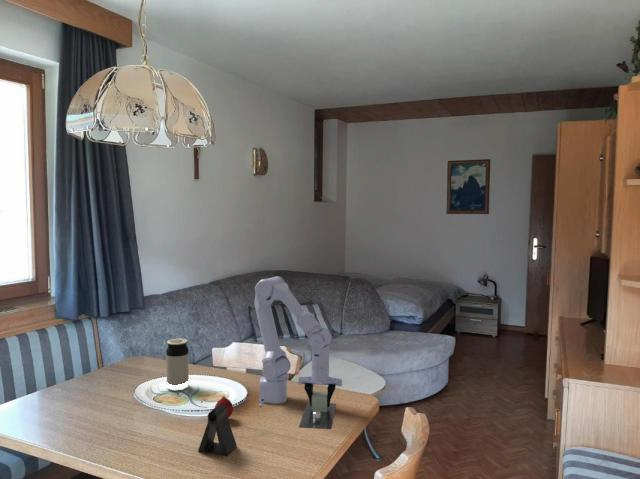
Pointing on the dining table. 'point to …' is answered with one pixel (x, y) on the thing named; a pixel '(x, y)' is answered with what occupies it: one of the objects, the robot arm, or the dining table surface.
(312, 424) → the base plate
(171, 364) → the travel mug
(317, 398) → the sage green cube
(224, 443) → the phone stand
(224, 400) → the onion
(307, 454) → the dining table surface
